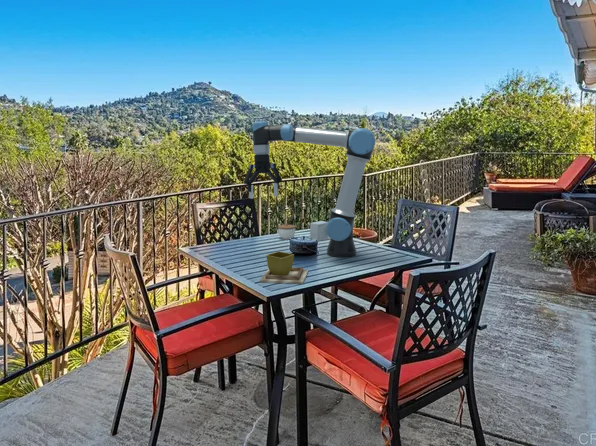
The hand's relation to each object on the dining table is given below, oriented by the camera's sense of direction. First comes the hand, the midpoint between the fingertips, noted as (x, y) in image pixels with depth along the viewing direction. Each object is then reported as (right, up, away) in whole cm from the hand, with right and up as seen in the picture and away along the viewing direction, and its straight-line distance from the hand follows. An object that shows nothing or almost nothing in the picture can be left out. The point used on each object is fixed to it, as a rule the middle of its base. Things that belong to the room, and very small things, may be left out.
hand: (264, 197), depth 222 cm
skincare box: (+30, -23, +48) cm, 61 cm away
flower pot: (+9, -35, -29) cm, 47 cm away
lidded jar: (+10, -22, +51) cm, 56 cm away
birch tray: (+11, -36, -29) cm, 48 cm away
